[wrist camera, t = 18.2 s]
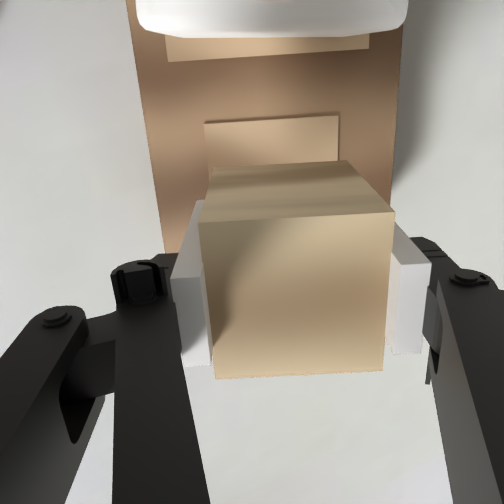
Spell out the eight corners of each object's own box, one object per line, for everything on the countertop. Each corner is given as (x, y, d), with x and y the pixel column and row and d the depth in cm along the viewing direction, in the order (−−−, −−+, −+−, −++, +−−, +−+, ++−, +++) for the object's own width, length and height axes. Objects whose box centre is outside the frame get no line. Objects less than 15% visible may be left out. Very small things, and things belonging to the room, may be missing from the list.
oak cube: (214, 167, 17) (197, 222, 11) (346, 160, 17) (395, 211, 11) (224, 284, 19) (215, 379, 13) (342, 278, 19) (382, 370, 13)
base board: (115, -199, 19) (84, -260, 16) (391, -219, 19) (426, -286, 15) (176, 227, 28) (164, 255, 24) (368, 215, 27) (388, 241, 24)
